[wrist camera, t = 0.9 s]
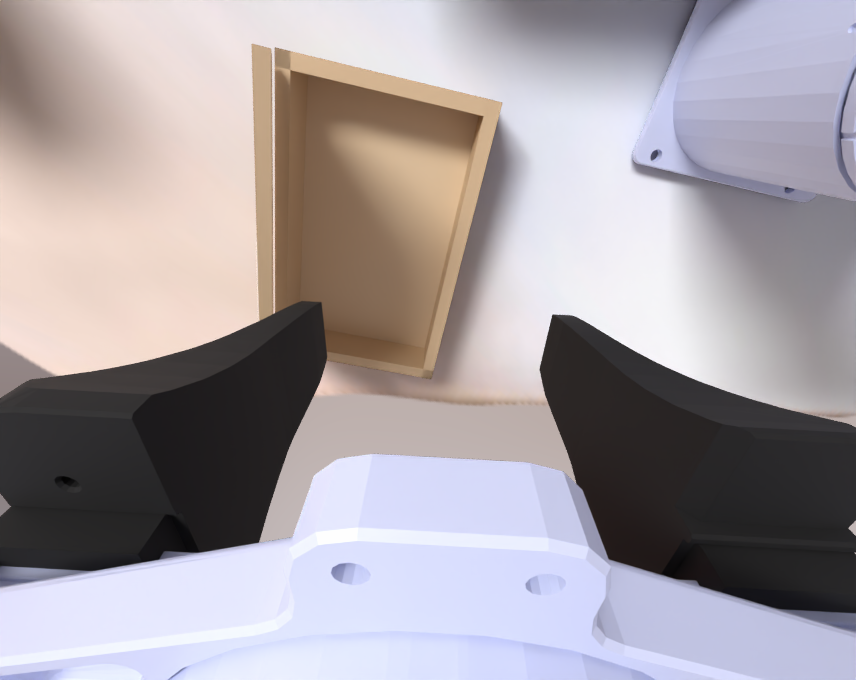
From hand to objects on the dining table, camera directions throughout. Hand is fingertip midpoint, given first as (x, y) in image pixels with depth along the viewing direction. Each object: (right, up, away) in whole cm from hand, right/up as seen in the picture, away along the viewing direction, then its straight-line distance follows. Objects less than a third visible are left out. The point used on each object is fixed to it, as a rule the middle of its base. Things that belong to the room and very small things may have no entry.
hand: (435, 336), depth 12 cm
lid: (-6, +3, +3) cm, 7 cm away
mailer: (-3, +6, +9) cm, 11 cm away
